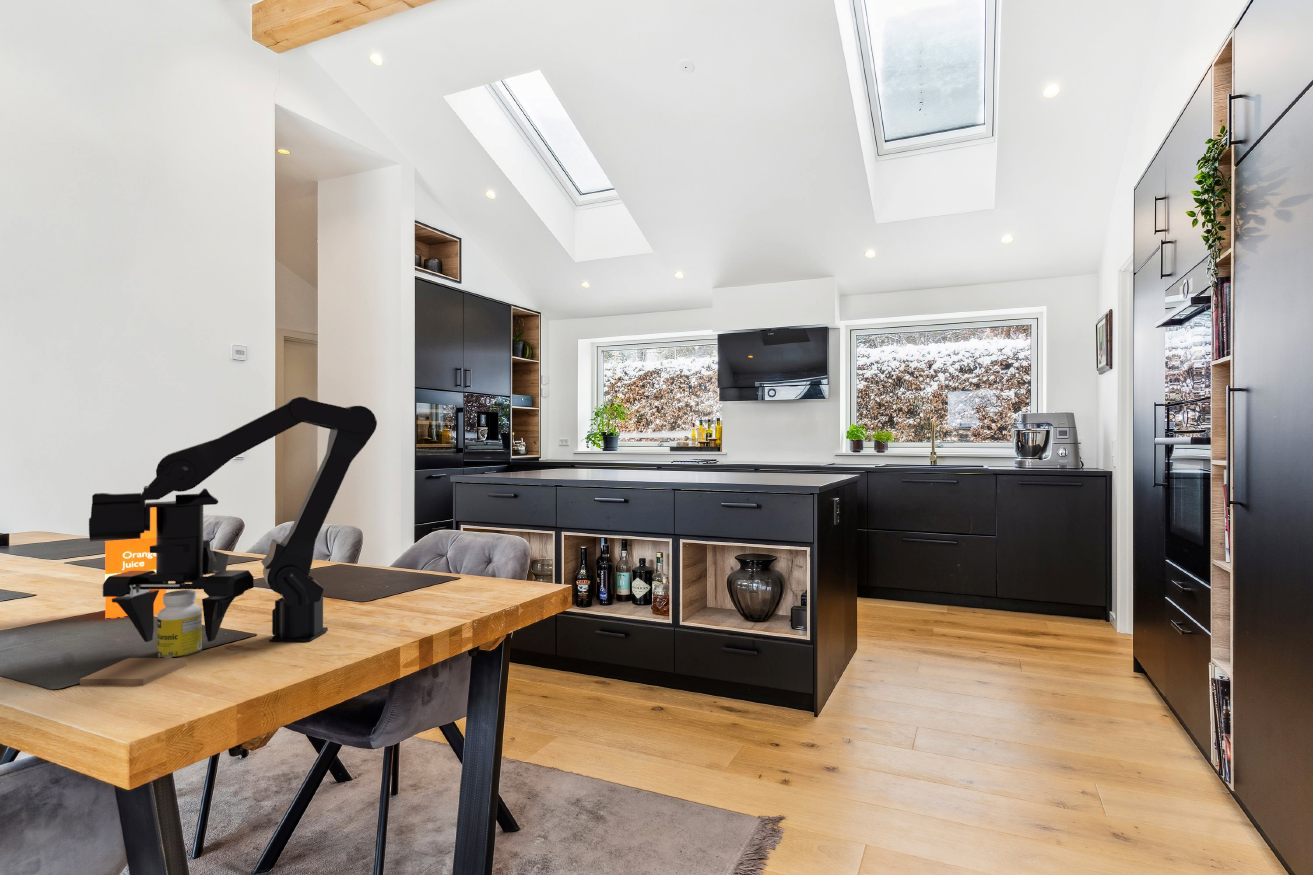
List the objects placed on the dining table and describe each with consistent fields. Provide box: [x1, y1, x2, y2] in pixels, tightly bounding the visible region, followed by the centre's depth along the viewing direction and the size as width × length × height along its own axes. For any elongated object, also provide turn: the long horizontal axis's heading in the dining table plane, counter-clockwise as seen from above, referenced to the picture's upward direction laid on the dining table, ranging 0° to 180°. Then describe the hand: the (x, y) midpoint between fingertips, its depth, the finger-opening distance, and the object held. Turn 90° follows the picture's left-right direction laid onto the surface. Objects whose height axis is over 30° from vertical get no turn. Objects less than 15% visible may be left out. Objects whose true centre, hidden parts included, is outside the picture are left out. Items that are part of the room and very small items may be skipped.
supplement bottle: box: [156, 589, 203, 658], centre depth 99 cm, size 5×5×10 cm
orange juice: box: [104, 507, 167, 620], centre depth 124 cm, size 8×9×20 cm
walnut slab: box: [79, 657, 187, 687], centre depth 89 cm, size 8×8×2 cm
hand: (180, 640), depth 99 cm, fingers open, 9 cm apart
